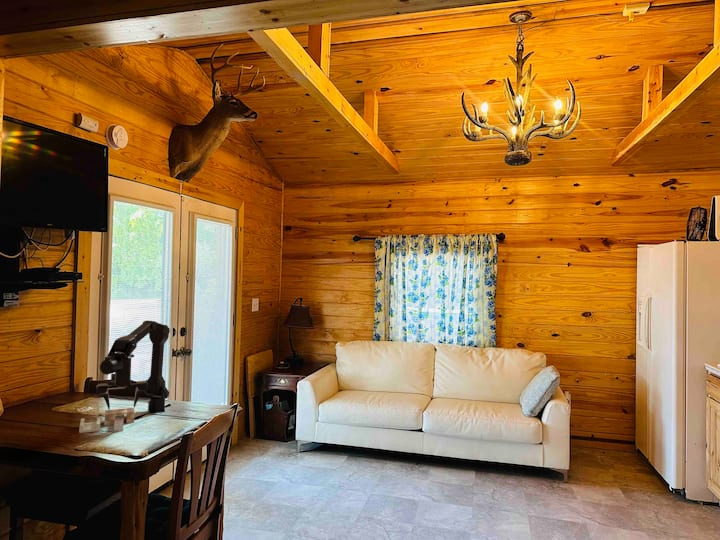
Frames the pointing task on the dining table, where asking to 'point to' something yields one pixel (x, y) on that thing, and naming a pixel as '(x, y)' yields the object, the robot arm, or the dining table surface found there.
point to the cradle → (89, 426)
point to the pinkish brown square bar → (119, 423)
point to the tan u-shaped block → (111, 414)
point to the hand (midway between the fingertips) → (121, 408)
